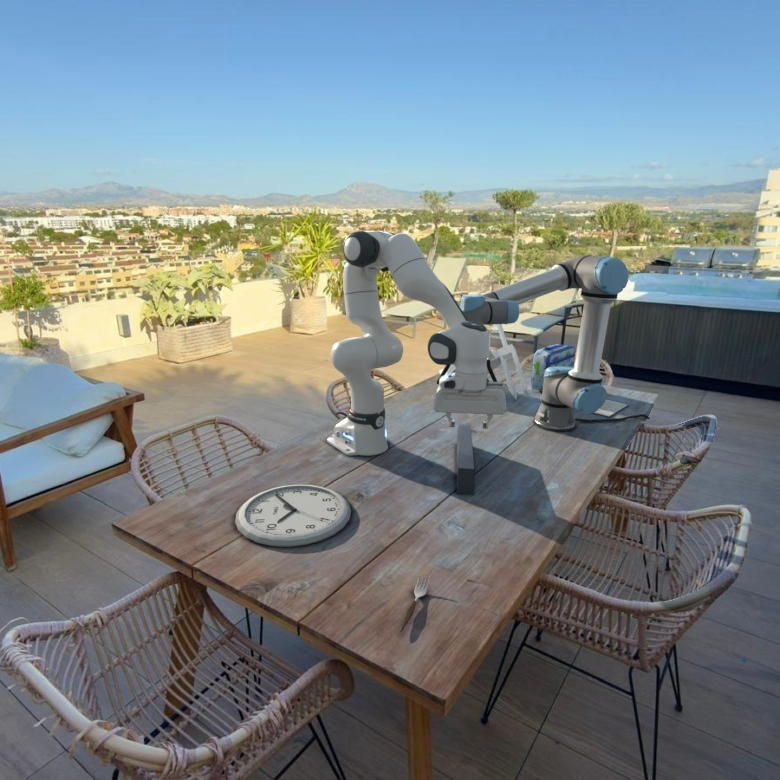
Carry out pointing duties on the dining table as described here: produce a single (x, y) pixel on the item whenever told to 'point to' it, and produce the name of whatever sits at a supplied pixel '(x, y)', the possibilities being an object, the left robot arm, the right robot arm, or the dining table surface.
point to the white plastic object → (503, 362)
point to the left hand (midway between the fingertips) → (468, 427)
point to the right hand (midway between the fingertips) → (465, 405)
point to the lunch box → (550, 362)
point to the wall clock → (293, 515)
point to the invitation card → (610, 408)
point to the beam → (464, 459)
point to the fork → (418, 593)
